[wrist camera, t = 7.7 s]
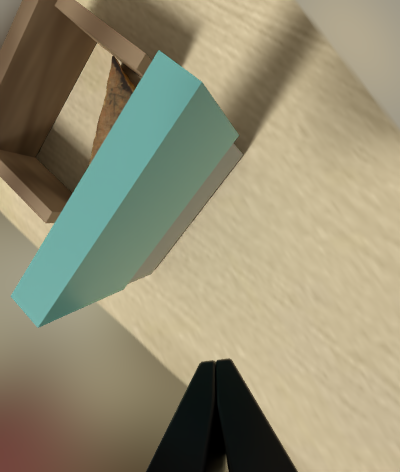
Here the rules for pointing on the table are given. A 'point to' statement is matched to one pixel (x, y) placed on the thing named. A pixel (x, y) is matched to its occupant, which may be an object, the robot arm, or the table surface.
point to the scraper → (133, 195)
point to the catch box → (47, 89)
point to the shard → (112, 103)
